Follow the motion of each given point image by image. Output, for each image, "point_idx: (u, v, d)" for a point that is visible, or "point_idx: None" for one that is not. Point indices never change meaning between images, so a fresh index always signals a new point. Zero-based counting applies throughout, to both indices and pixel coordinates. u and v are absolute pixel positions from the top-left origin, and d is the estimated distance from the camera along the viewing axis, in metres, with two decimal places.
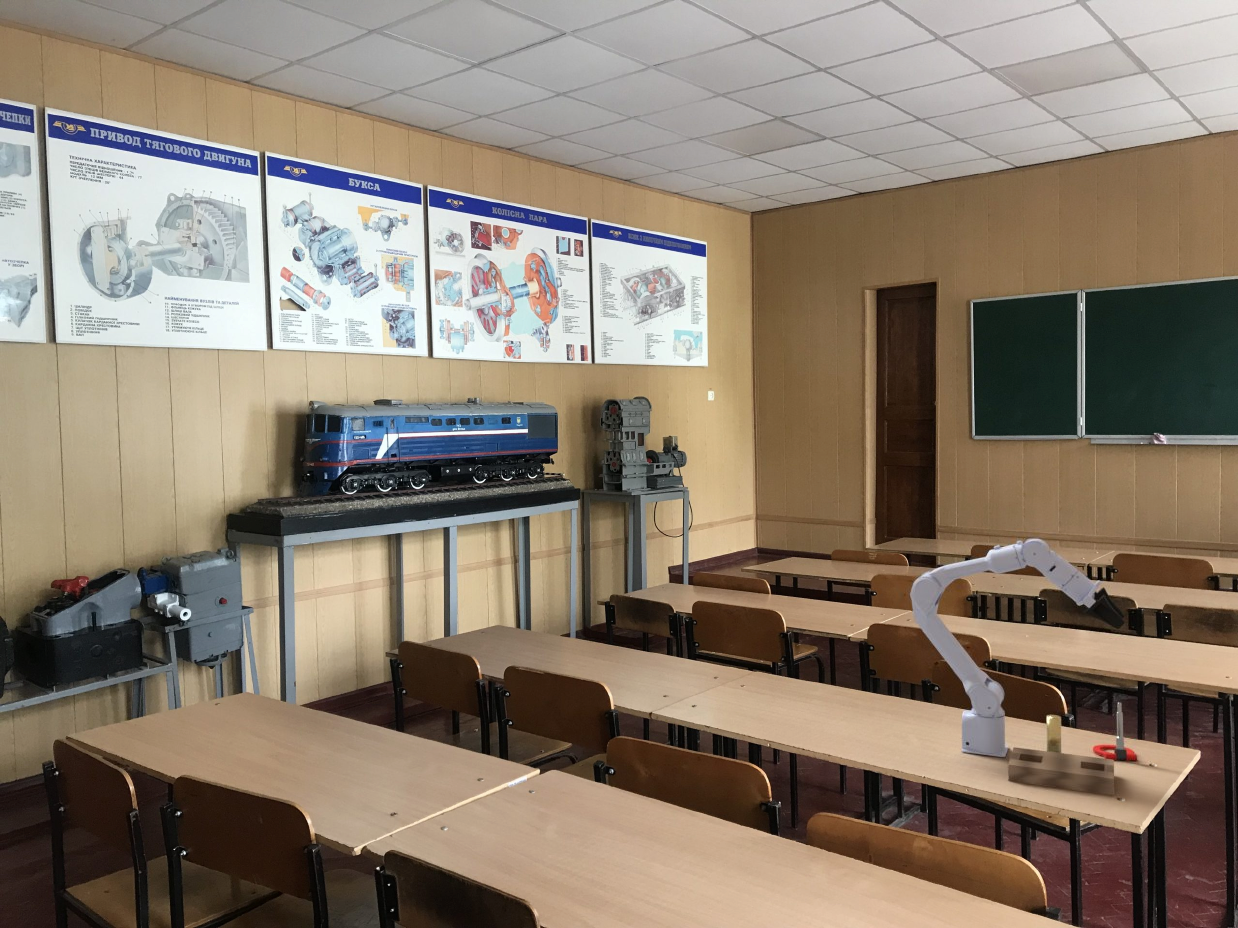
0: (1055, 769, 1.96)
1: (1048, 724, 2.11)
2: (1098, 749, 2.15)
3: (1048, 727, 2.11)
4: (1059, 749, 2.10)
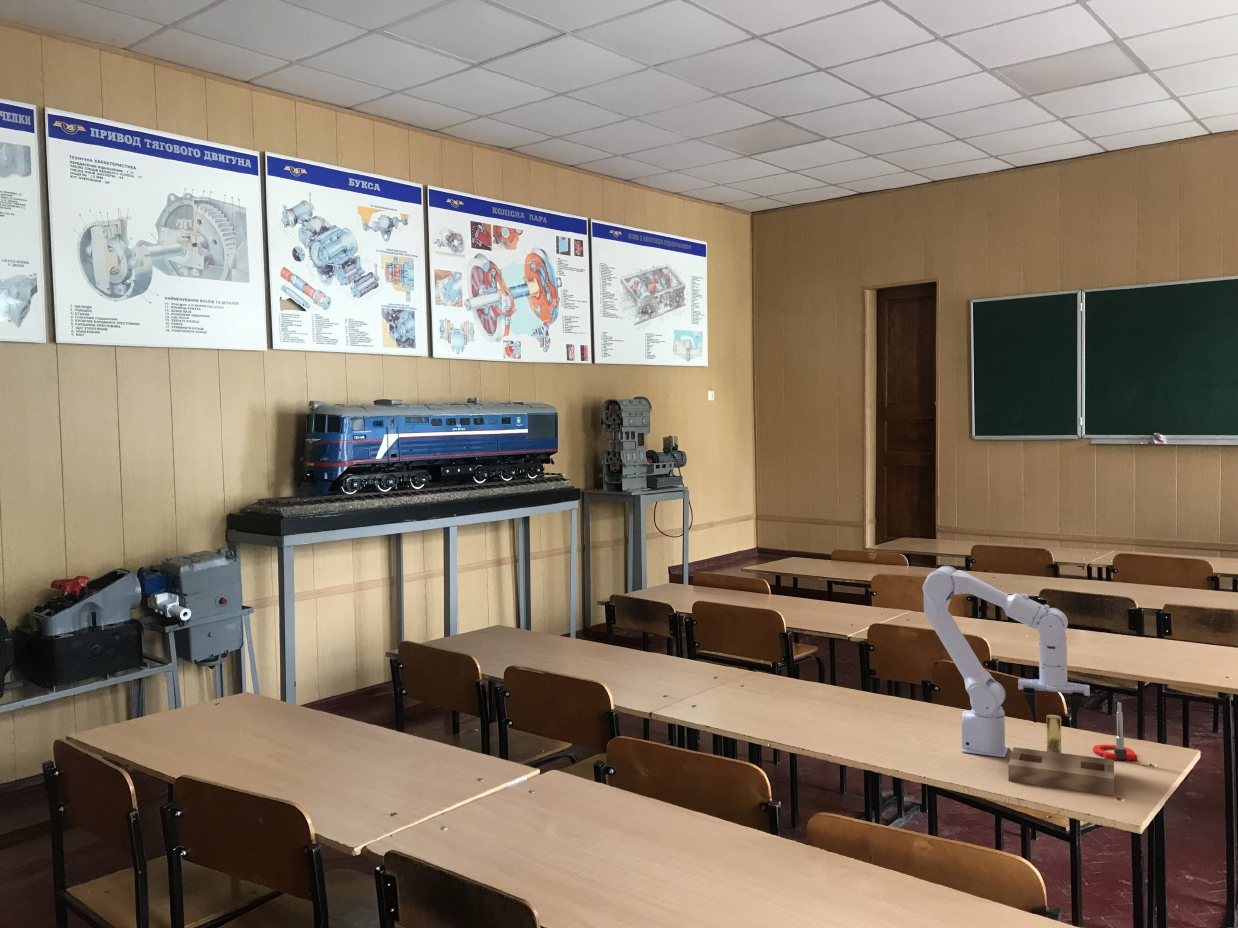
0: (1055, 769, 1.96)
1: (1048, 724, 2.11)
2: (1098, 749, 2.15)
3: (1048, 727, 2.11)
4: (1059, 749, 2.10)
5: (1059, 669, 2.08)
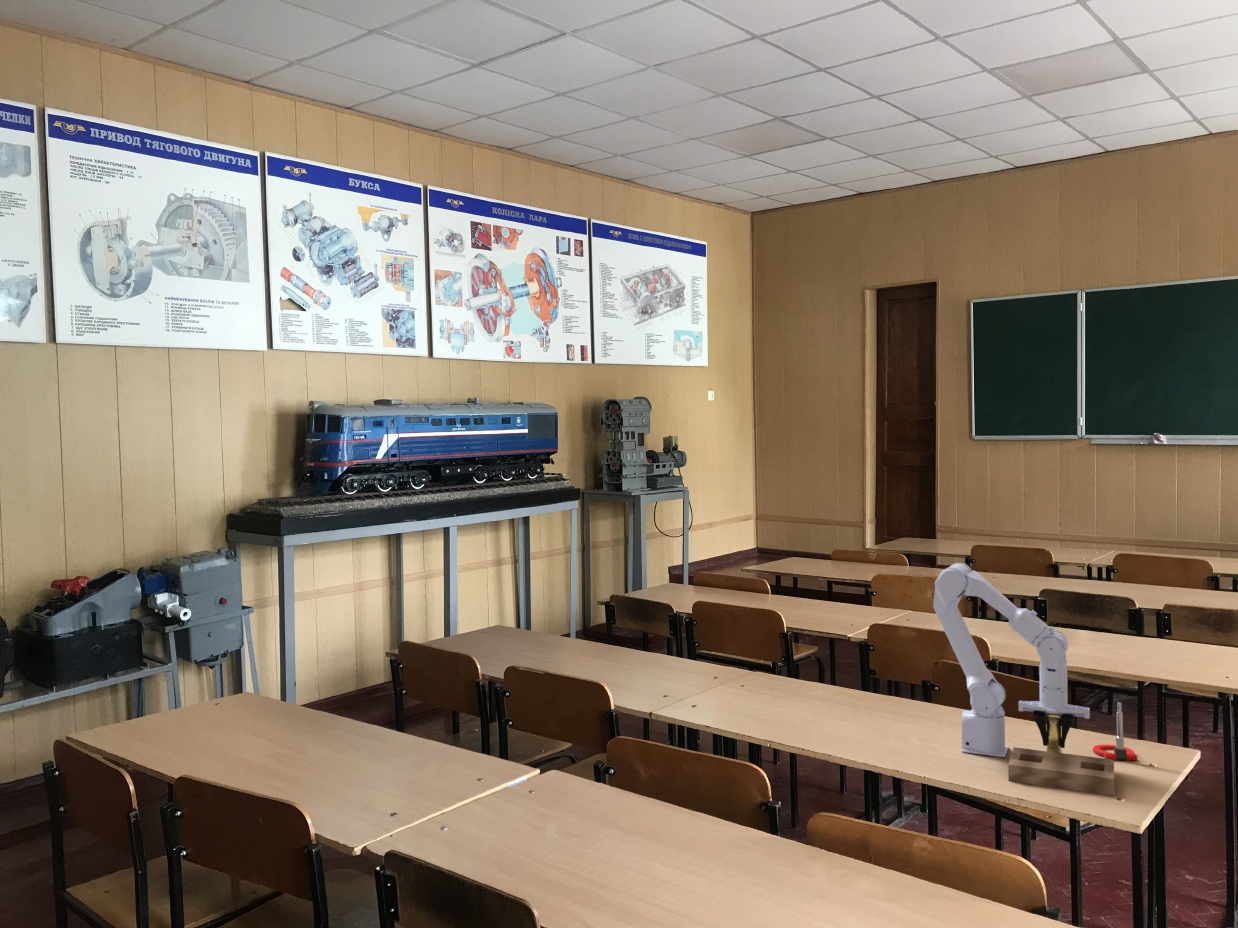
0: (1055, 769, 1.96)
1: (1048, 724, 2.11)
2: (1098, 749, 2.15)
3: (1048, 727, 2.11)
4: (1059, 749, 2.10)
5: (1059, 692, 2.08)
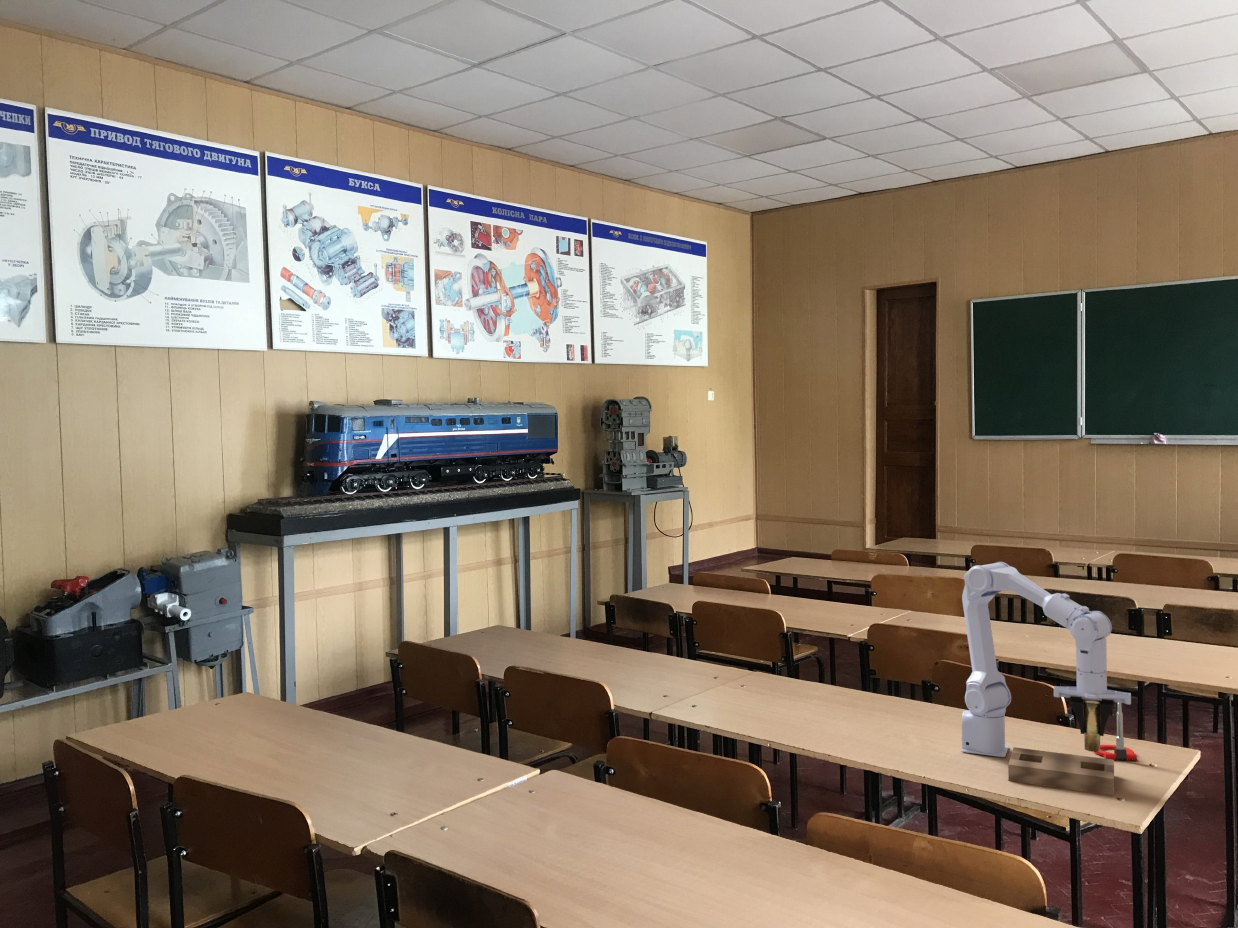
0: (1055, 769, 1.96)
1: (1086, 710, 1.97)
2: None
3: (1086, 714, 1.97)
4: (1098, 737, 1.97)
5: (1098, 676, 1.95)
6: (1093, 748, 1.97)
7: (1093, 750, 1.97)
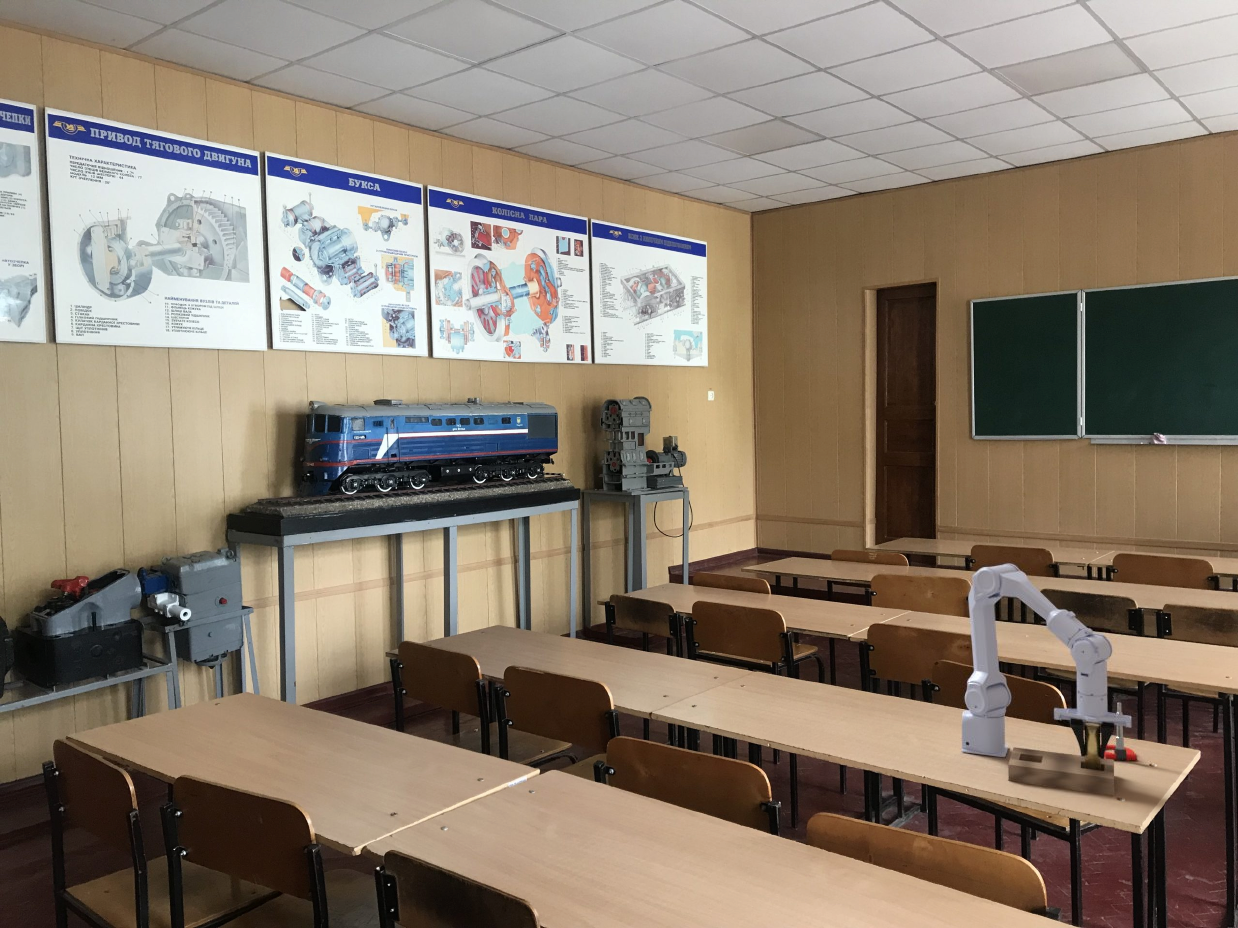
0: (1055, 769, 1.96)
1: (1087, 733, 1.97)
2: None
3: (1087, 736, 1.97)
4: (1099, 760, 1.97)
5: (1099, 699, 1.95)
6: None
7: None
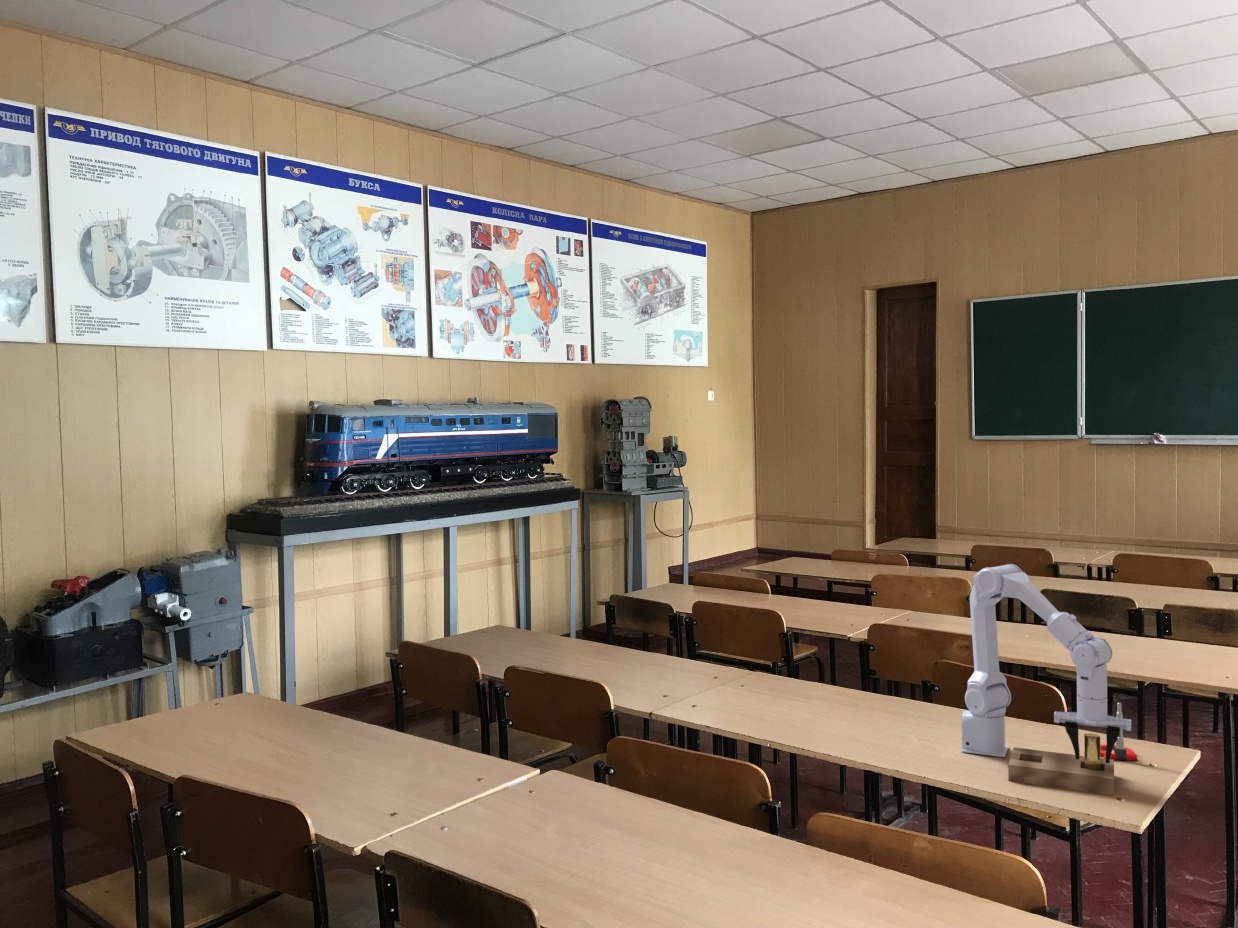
0: (1055, 769, 1.96)
1: (1087, 744, 1.97)
2: None
3: (1087, 747, 1.97)
4: None
5: (1099, 702, 1.95)
6: None
7: None
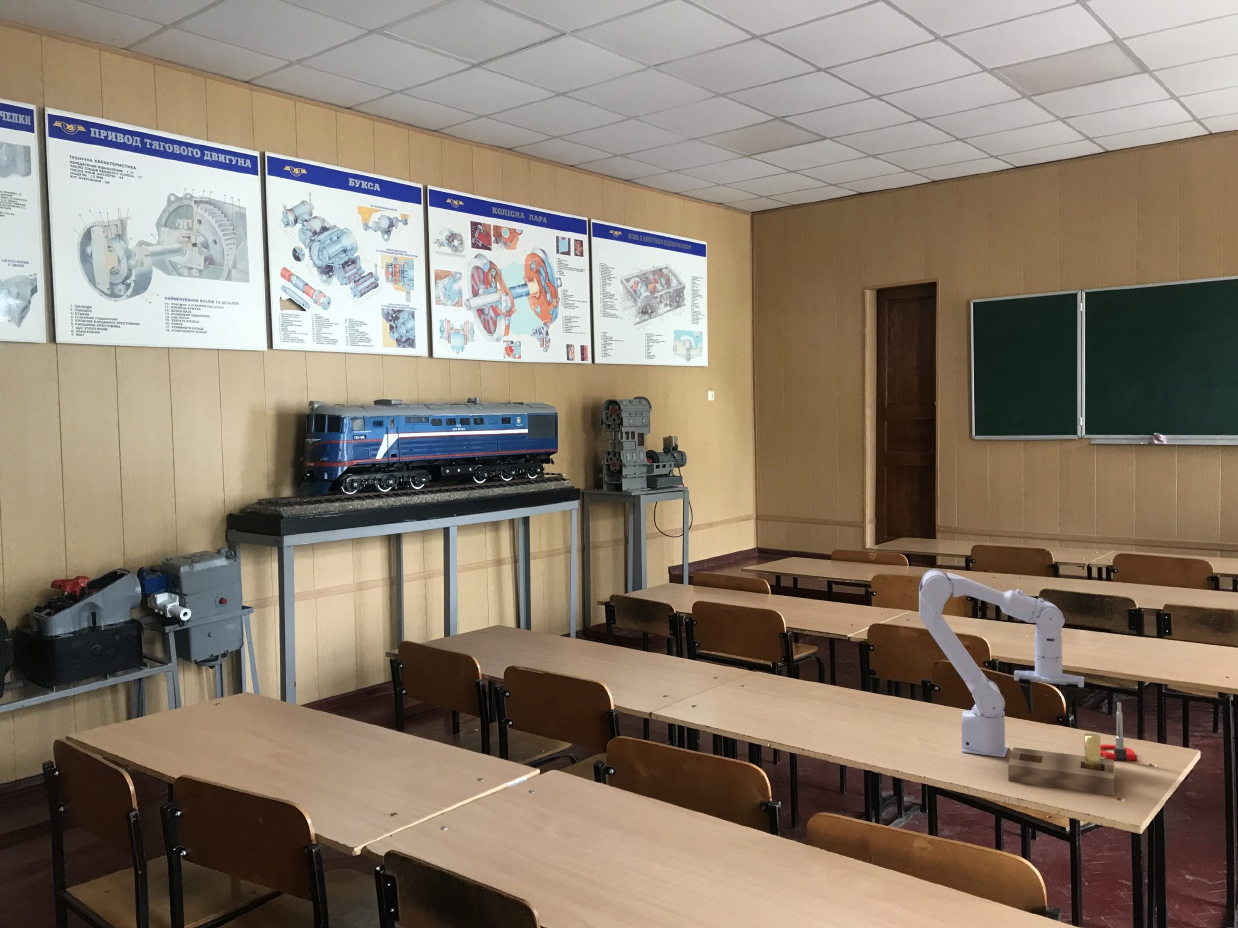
0: (1055, 769, 1.96)
1: (1087, 744, 1.97)
2: None
3: (1087, 747, 1.97)
4: None
5: (1054, 661, 2.12)
6: None
7: None
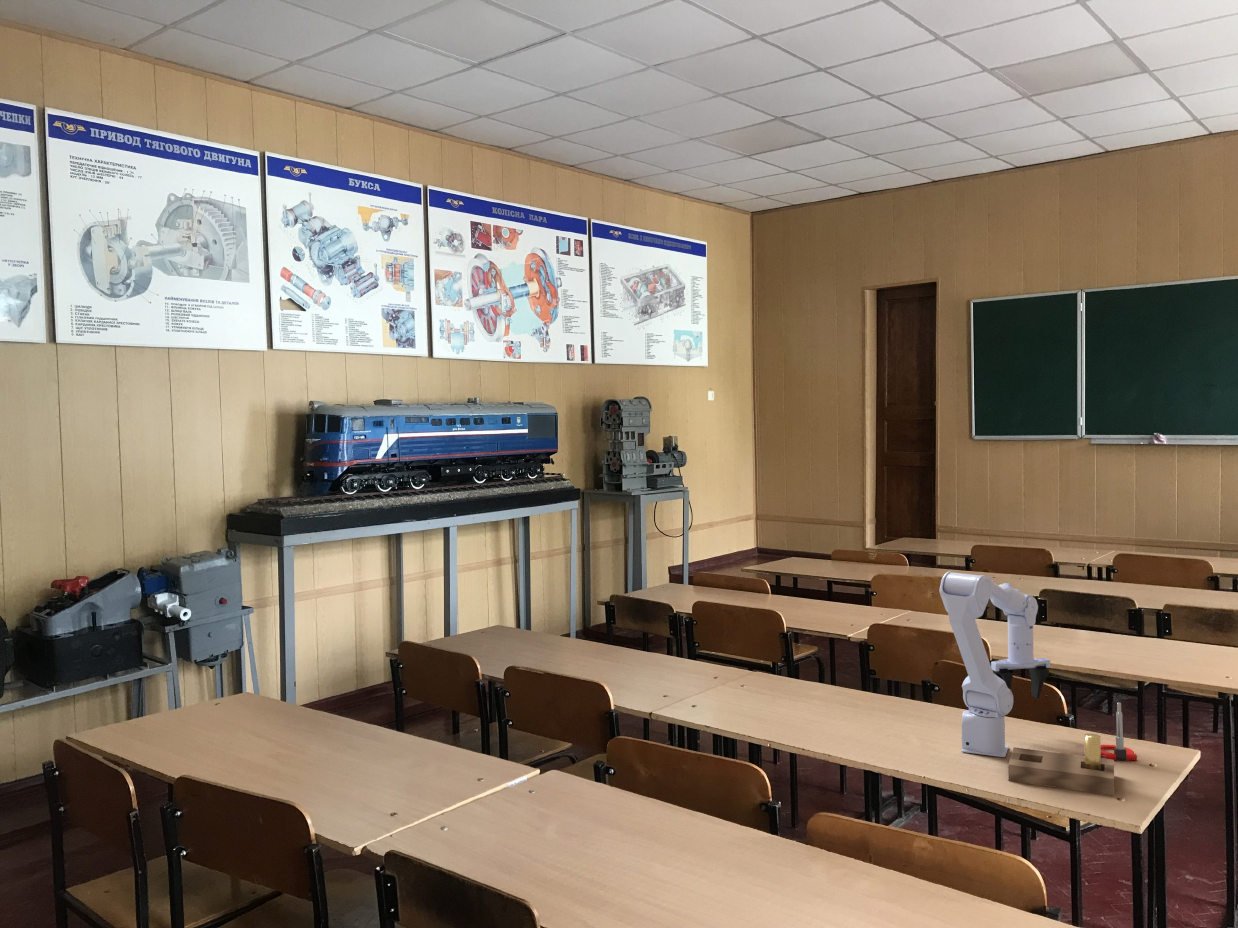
0: (1055, 769, 1.96)
1: (1087, 744, 1.97)
2: None
3: (1087, 747, 1.97)
4: (1099, 770, 1.97)
5: (1031, 647, 2.25)
6: None
7: None
